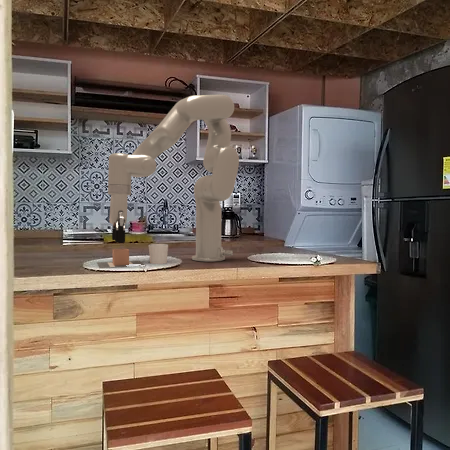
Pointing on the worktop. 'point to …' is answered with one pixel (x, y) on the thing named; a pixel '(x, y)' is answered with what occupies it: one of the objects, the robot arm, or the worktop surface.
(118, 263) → the terracotta block
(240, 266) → the worktop surface
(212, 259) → the robot arm
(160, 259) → the beige tapered cup
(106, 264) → the letter mat
